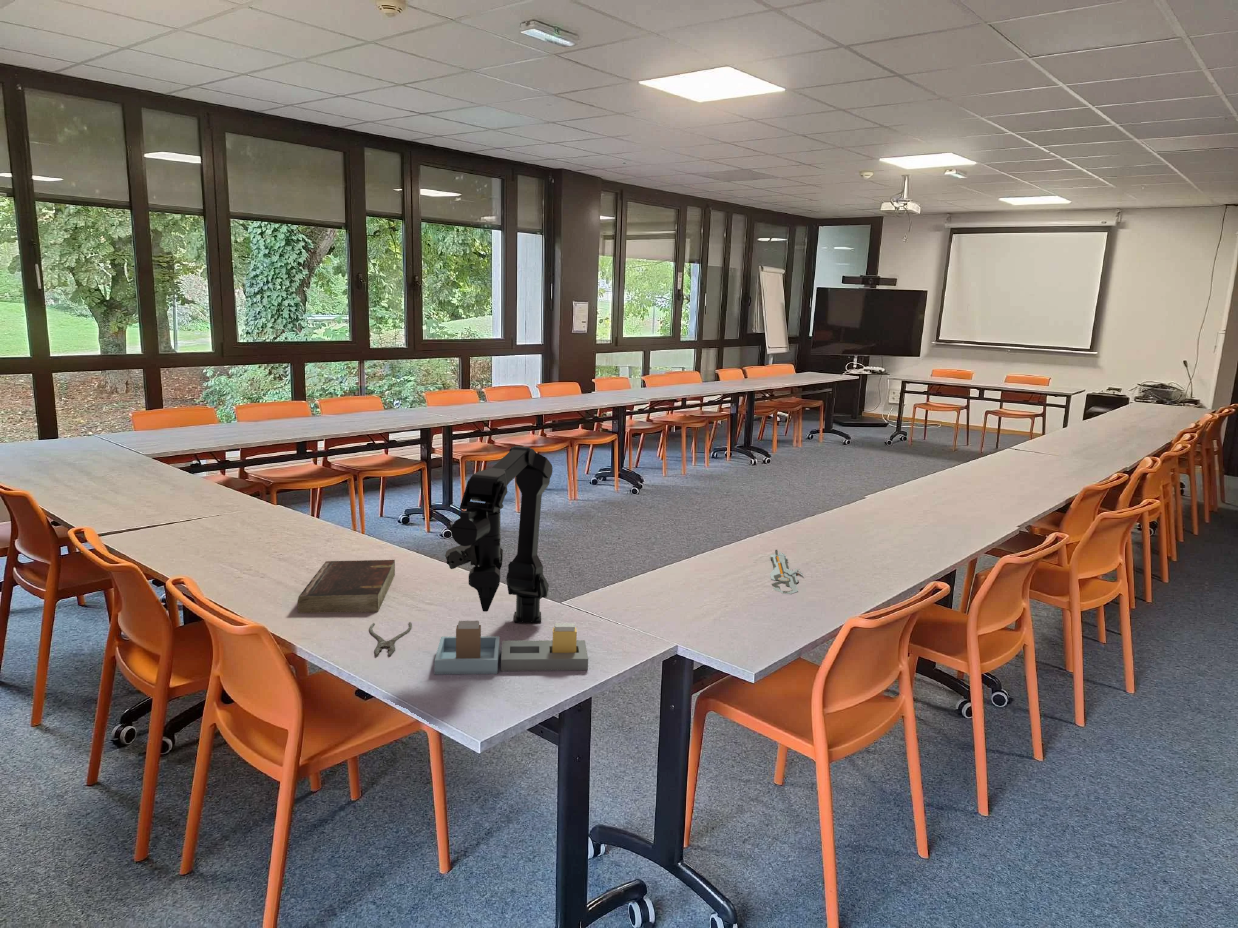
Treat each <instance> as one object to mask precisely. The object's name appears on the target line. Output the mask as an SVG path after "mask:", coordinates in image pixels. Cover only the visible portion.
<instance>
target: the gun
mask: <svg viewBox="0 0 1238 928" xmlns="http://www.w3.org/2000/svg"><path fill="white" fill-rule="evenodd" d="M774 551H775V552H774V554H770V555H769V556H770V557H769V558H770V560H771V562H772V566H773V569H772V571H771V572H769V576H770V580H771V581H774V582H773V583H771V586H772V587H773V591H776V592H779V593H781V594H782V595H783V594H785V595H792V594H796V593H799V589H798V584H799V580H798V578H797V576H800V577H802V578H804V573H802V571H801V570H800V569H801V568H798V567H797V568H794V569H790V567H789V565H788V561H789V560H788V558H787V555H786V554H785V553H784V552H781V551H779V552H778V549H774ZM781 553H782V554H781ZM780 584H785V587H787V588H790V589H791V590H789V591H788V590H787V591H786V590H781V586H780Z"/></svg>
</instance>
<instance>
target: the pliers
mask: <svg viewBox="0 0 1238 928" xmlns="http://www.w3.org/2000/svg"><path fill="white" fill-rule="evenodd" d="M375 625H376V623H375V622H372V624H370V625H369V629H368V631H369V634H370V635H371V636H373V638H375V639H376V640H377V642H378V643H377V645H376V646H375V648H374V655H375V658H378V657H379V656H380V653H382V652H383V650H384V649H387V652H388V657H389V658H390V657H392V655H393V654H394V653H395V652H396V646H395V643H396V642H397V641H398V640H399V639H401V638H402V637H404V636H405V635H407V634H409V633H410V632H411V630H412V628H413V625H412V622H411V621H409V622H408V628H407V629H406V630H404V631H403V632H401V633H400V634H398V635H396V636H394V637H393V638H391V639H389V640H385V639H384V638H383V637H381V636H380V635H379V634H377V633H376V632H374V631H373V628H374V627H375Z"/></svg>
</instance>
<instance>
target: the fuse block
mask: <svg viewBox="0 0 1238 928" xmlns="http://www.w3.org/2000/svg"><path fill="white" fill-rule="evenodd" d="M501 642H502V644H501V655H500V656H501V657H500V672H518V671H519V672H522V671H523V672H527V671H528V672H531V671H535V672H536V671H538V672H539V671H540V672H541V671H543V672H544V671H545V672H547V671H588V670H589V656H588V650H587V645H586V640H585V639H584V640H583V639H581V640H579V639H577V641H576V653H552V640H551V639H549V640H540V639H539V640H502V641H501Z"/></svg>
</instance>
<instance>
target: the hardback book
mask: <svg viewBox="0 0 1238 928" xmlns="http://www.w3.org/2000/svg"><path fill="white" fill-rule="evenodd" d="M395 576H396V560H395V559H375V560H374V559H373V560H372V559H370V560H366V559H365V560H328V561H327V560H325V562H324V563H323V564H322V566H321V567H320V568H319V569H318V571H317V572H316V573H315V575H314V576H313V577H312V578H311V580H310V581H309V583H308V584H307V585H306V586H305V587H304V588H303V591H302V592H301V593H300V594H299V596H298V598H297V612H298V614H303V613H304V614H305V613H308V614H312V613H313V614H314V613H320V614H321V613H326V614H327V613H331V614H332V613H378V612H379V611H380V610H381V606H383V605H382V604H383V602H384V600H385V598H386V595H387V594H388V591H389V589H390V587H391V585H392V582H393V581H394V578H395Z"/></svg>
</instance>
